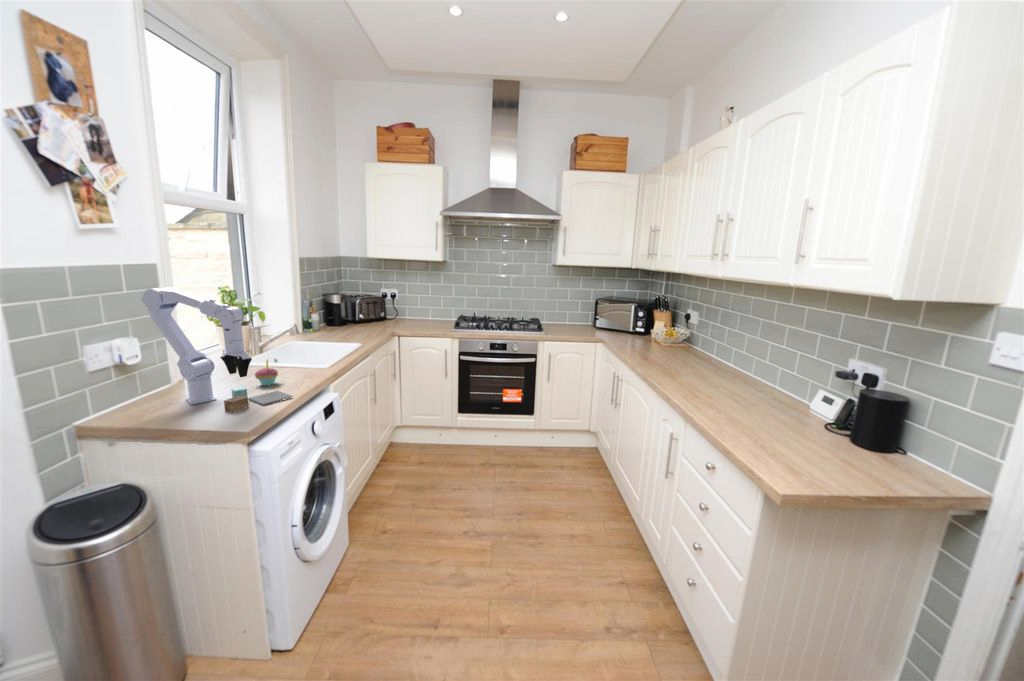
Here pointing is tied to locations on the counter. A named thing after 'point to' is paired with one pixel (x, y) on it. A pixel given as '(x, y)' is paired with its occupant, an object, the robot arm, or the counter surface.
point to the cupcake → (266, 375)
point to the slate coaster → (269, 397)
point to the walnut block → (236, 403)
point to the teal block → (239, 392)
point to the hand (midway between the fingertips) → (238, 375)
